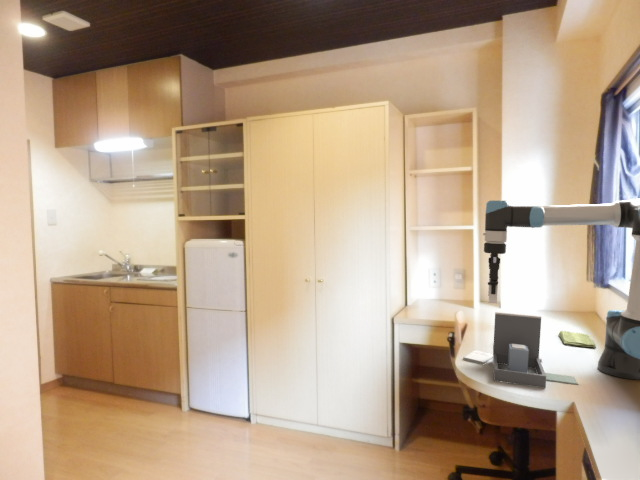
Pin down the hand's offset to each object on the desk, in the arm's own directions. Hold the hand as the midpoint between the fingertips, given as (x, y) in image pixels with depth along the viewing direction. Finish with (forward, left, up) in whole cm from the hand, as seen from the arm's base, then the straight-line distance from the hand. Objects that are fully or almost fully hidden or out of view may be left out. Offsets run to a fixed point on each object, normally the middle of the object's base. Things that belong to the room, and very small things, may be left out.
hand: (492, 299), depth 167 cm
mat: (-24, +3, -26) cm, 35 cm away
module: (-10, +4, -26) cm, 28 cm away
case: (-10, +4, -26) cm, 28 cm away
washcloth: (-39, -51, -26) cm, 69 cm away
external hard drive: (+3, -9, -27) cm, 28 cm away
